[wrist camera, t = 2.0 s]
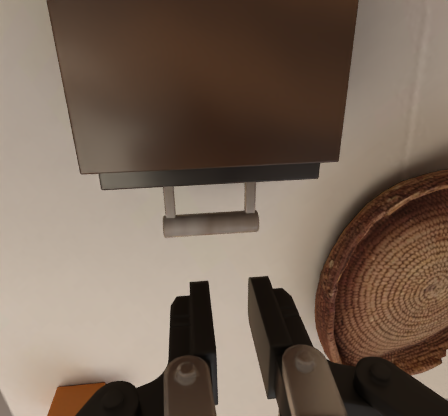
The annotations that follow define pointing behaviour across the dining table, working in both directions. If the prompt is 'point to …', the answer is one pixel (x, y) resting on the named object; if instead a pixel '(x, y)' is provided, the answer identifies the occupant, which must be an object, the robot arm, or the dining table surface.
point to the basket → (390, 280)
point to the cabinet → (203, 81)
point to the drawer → (205, 176)
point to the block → (72, 399)
